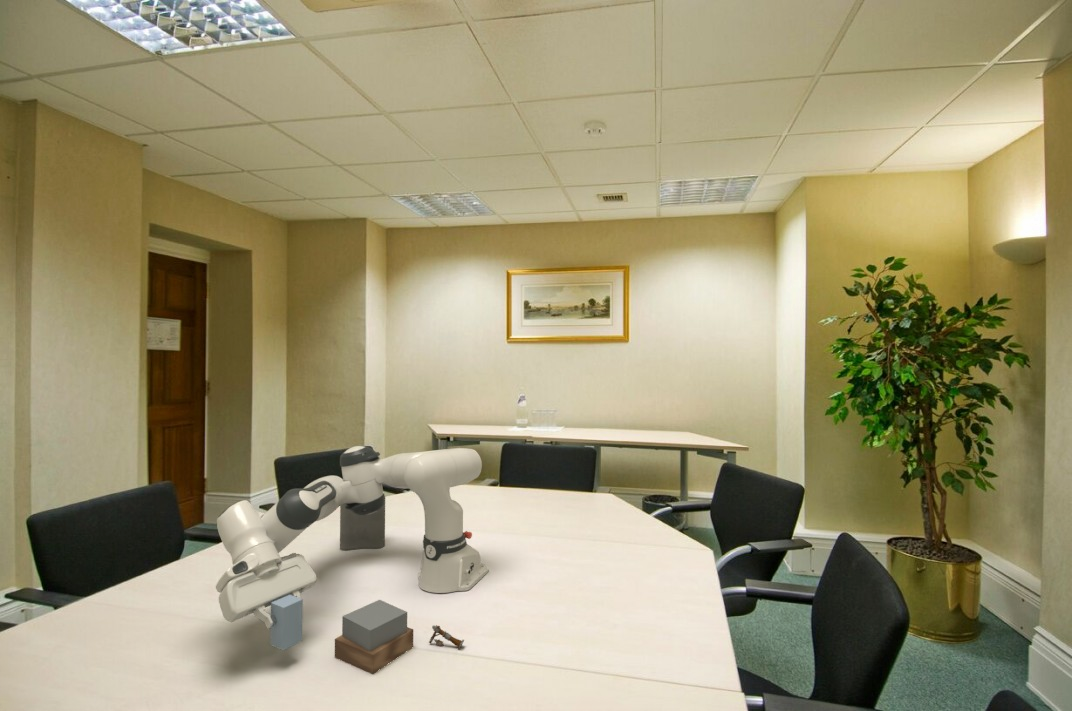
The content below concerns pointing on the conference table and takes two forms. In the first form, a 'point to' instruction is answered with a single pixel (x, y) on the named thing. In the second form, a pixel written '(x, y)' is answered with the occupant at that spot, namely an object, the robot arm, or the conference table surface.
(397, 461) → the robot arm
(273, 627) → the slate blue block
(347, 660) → the walnut base block
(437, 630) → the wooden post with brackets
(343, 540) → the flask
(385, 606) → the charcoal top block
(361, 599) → the conference table surface
